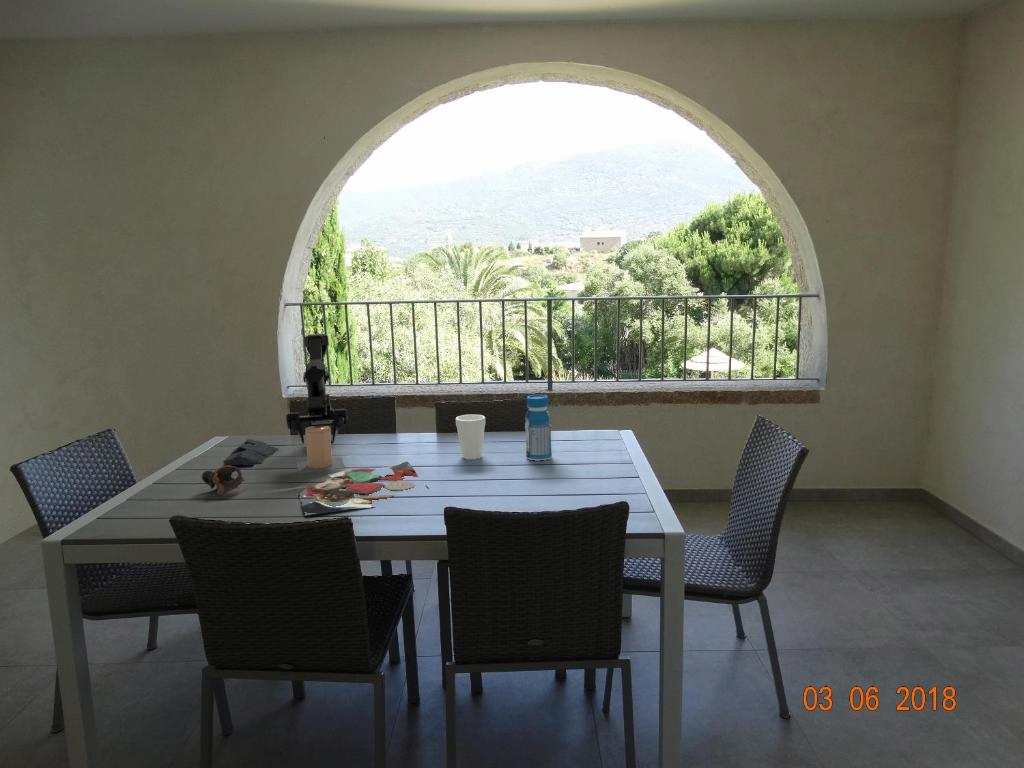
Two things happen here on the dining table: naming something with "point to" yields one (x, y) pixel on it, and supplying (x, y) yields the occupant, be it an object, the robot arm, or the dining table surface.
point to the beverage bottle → (538, 428)
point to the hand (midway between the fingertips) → (318, 441)
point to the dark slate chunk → (250, 453)
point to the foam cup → (471, 435)
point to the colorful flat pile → (356, 488)
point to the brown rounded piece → (223, 478)
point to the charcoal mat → (304, 468)
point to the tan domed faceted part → (318, 446)
